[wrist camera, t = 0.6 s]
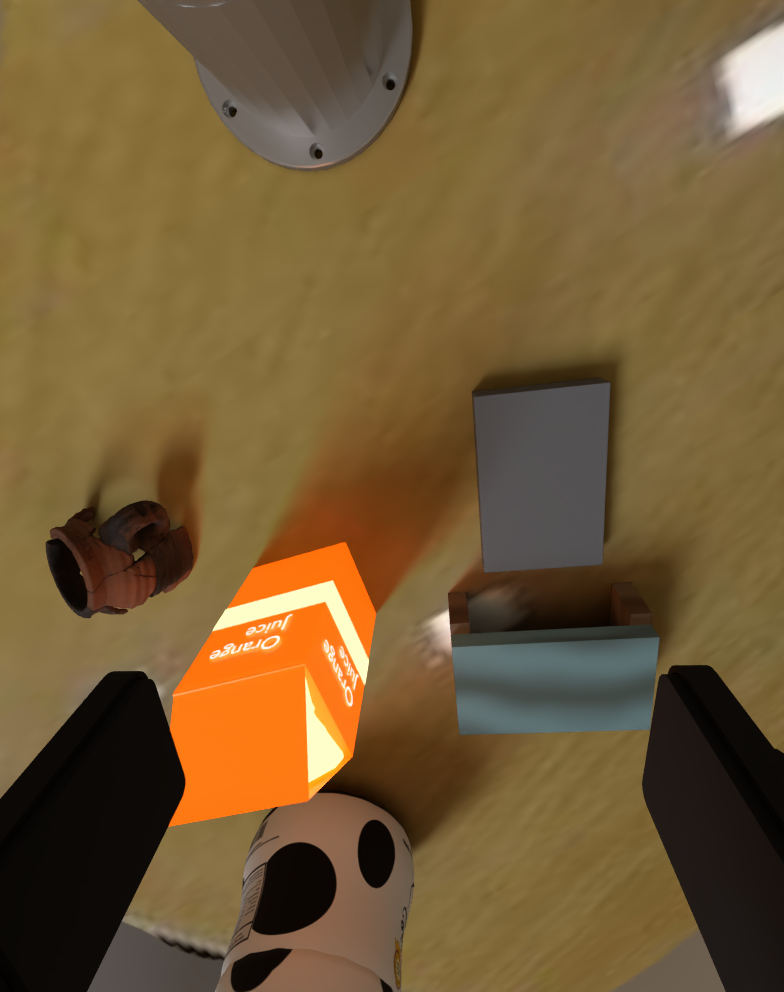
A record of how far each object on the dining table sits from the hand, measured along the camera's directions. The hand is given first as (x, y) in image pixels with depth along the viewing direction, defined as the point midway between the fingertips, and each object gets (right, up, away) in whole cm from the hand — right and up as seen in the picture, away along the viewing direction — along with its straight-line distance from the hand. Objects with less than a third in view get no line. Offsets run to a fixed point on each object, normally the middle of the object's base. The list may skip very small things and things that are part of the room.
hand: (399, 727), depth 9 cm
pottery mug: (-21, +1, +33) cm, 39 cm away
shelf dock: (+13, -8, +34) cm, 37 cm away
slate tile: (+11, +6, +29) cm, 31 cm away
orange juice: (-7, -4, +34) cm, 35 cm away
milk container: (-6, -33, +46) cm, 57 cm away
